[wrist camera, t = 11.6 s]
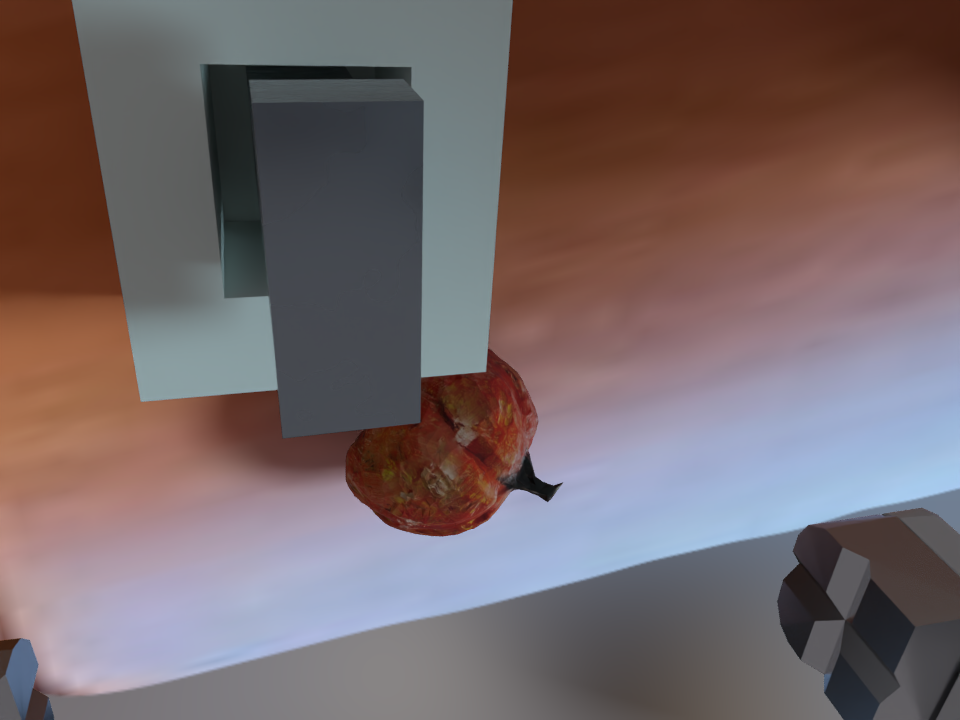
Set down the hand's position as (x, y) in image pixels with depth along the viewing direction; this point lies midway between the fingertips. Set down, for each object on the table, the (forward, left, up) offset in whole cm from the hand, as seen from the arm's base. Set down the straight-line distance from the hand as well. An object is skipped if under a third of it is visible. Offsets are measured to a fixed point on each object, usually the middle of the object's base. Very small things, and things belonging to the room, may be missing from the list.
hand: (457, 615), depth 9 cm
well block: (0, 0, -22) cm, 22 cm away
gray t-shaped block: (0, 0, -21) cm, 21 cm away
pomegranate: (-4, +11, -22) cm, 25 cm away
